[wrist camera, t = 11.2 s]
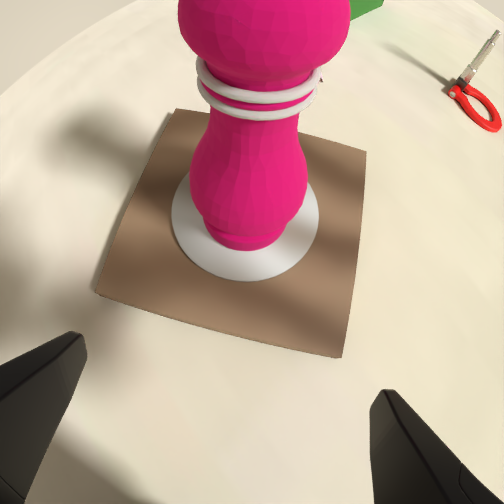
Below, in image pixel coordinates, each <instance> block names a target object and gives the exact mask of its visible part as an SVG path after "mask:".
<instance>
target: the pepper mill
mask: <svg viewBox="0 0 504 504" xmlns="http://www.w3.org/2000/svg"><path fill="white" fill-rule="evenodd" d="M350 15H351V9H350V3H349V0H179V2H178V23H179V27H180V32H181V35H182V36H183V38H184V40H185V41H186V43H187V44H188V45H189V47H190V48H191V49H192V50H193V51H194V52H195V53H196V54H197V55H198V57H197V60H196V70H197V74H198V77H197V86H198V89H199V92H200V94H201V95H202V97H203V98H204V99H205V100H206V102H207V103H209V104H210V107H211V108H210V119H209V122H208V126H207V129H206V131H205V133H204V135H203V136H202V138H201V140H200V142H199V143H198V145H197V147H196V149H195V151H194V154H193V158H192V161H191V165H190V171H189V181H190V193H191V197H192V200H193V202H194V204H195V206H196V208H197V210H198V211H199V213H200V214H201V215H202V216H203V221H204V224H205V226H206V228H207V230H208V232H209V233H210V235H211V236H212V237H213V238H214V239H215V240H216V241H217V242H218V243H220V244H222V245H224V246H226V247H228V248H230V249H233V250H237V251H255V250H259V249H263V248H265V247H267V246H269V245H271V244H272V243H273V242H275V241H276V240H277V239H278V238H279V237H280V236H281V234H282V233H283V231H284V229H285V227H286V225H287V223H288V222H289V221H290V220H292V219H293V218H294V216H295V215H296V214H297V213H298V211H299V209H300V208H301V206H302V204H303V201H304V197H305V194H306V190H307V182H308V172H307V164H306V159H305V156H304V153H303V151H302V149H301V146H300V143H299V140H298V131H297V126H298V118H299V113H300V112H301V111H303V110H304V109H305V108H307V107H308V106H309V105H310V104H311V102H312V101H313V100H314V98H315V95H316V91H317V84H318V83H319V80H320V78H321V65H323V64H325V63H327V62H328V61H330V60H331V59H332V58H333V57H334V56H335V55H336V54H337V53H338V51H339V50H340V49H341V47H342V45H343V44H344V42H345V40H346V37H347V34H348V30H349V25H350Z"/></svg>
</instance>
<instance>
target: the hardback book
mask: <svg viewBox="0 0 504 504" xmlns="http://www.w3.org/2000/svg"><path fill="white" fill-rule="evenodd" d="M383 1H384V0H349V3H350V9H351V15H350V21H351V20H353V19H355V18H357V17H359V16H361V15H363V14H365V13H367V12H369V11H372V10H374V9H376V8H378V7H380V6H382V4H383Z"/></svg>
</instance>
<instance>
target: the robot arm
mask: <svg viewBox="0 0 504 504" xmlns="http://www.w3.org/2000/svg"><path fill="white" fill-rule="evenodd" d="M86 360H87V350H86V346H85V341H84V337H83V335H82V334H80V333H77V332H74V331H69V332H67V333H65V334H63V335H61V336H59V337H57V338H55V339H53V340H51V341H49V342H47V343H45V344H43V345H41V346H39V347H37V348H35V349H32V350H30V351H28V352H26V353H24V354H22V355H20V356H18V357H16V358H14V359H12V360H10V361H8V362H6V363H4V364H2V365H0V504H24V502H25V499H26V497H27V494H28V492H29V489H30V487H31V484H32V482H33V480H34V477H35V475H36V473H37V470H38V468H39V466H40V464H41V461H42V459H43V457H44V455H45V453H46V450H47V448H48V446H49V444H50V442H51V440H52V438H53V435H54V433H55V431H56V429H57V427H58V425H59V423H60V421H61V419H62V417H63V415H64V413H65V411H66V409H67V407H68V405H69V403H70V401H71V399H72V396H73V394H74V391H75V388H76V386H77V383H78V381H79V378H80V375H81V373H82V370H83V368H84V365H85V363H86ZM370 461H371V471H372V482H373V493H374V504H504V503H503V502H502V501H501V500H500V499H499V498H498V497H497V496H495V495H494V494H493V493H492V492H491V491H490V490H489V489H488V488H486V487H485V486H484V485H483V484H482V483H481V482H480V481H479V480H478V479H477V478H476V477H475V476H474V475H473V474H472V473H471V472H470V471H469V470H468V469H467V467H466V466H465V465H464V464H463V463H461V461H460V460H459V459H458V458H457V457H456V456H455V454H454V453H453V452H452V451H451V450H450V449H449V448H448V447H447V446H446V445H445V444H444V442H443V441H442V440H441V439H440V438H439V437H438V436H437V435H436V434H435V433H434V432H433V430H432V429H431V428H430V427H429V426H428V425H427V424H426V423H425V422H424V421H423V420H422V419H421V417H420V416H419V415H418V414H417V413H416V412H415V411H414V410H413V409H412V408H411V407H410V406H409V405H408V403H407V402H406V401H405V400H404V399H403V398H402V397H401V396H400V395H399V394H398V393H397V392H396V391H395V390H393V389H383V390H381V391H380V392H379V394H378V396H377V397H376V399H375V400H374V402H373V404H372V405H371V408H370Z"/></svg>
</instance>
